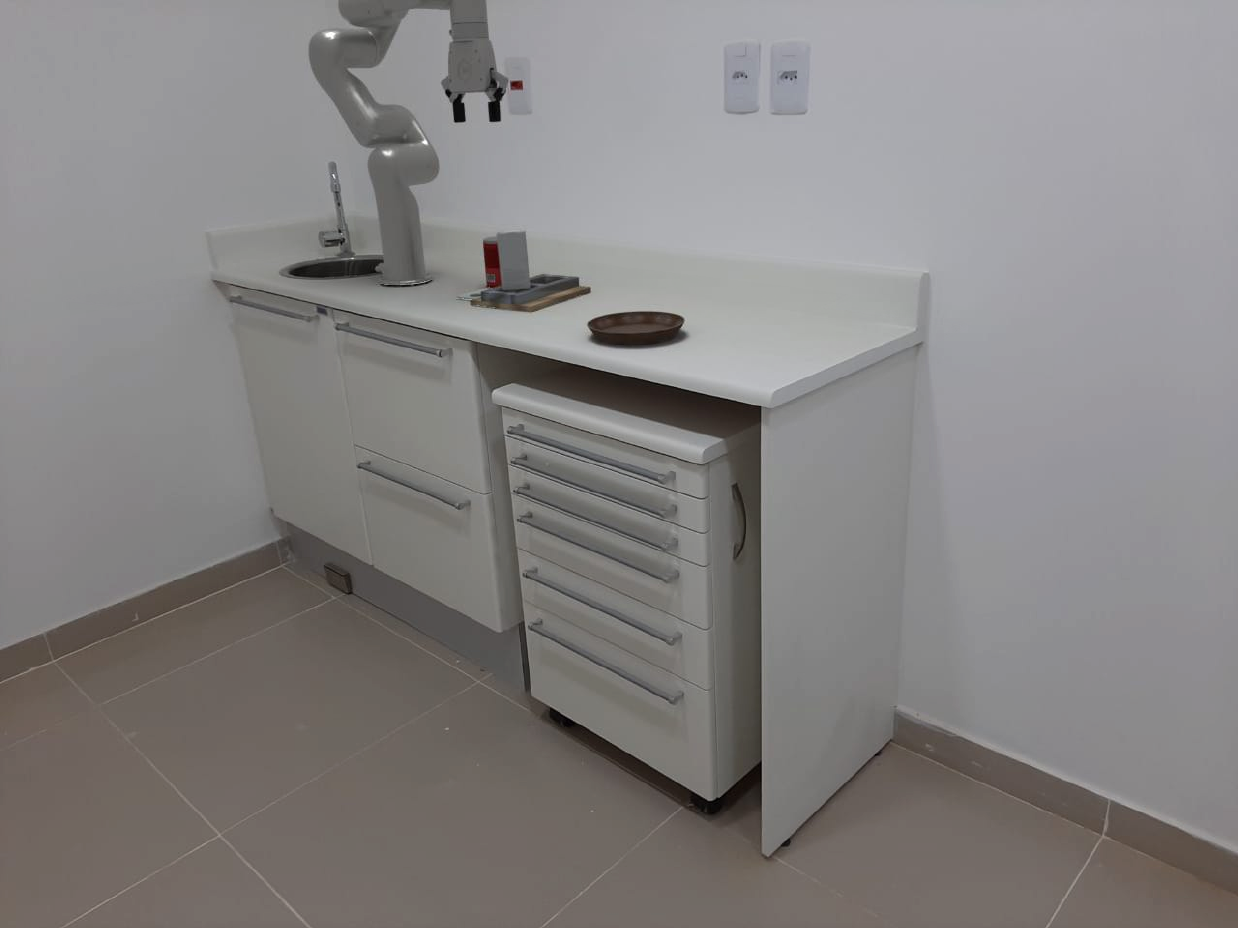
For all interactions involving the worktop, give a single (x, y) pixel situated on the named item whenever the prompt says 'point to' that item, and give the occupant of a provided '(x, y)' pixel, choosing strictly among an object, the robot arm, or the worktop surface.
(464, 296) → the card
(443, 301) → the worktop surface
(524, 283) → the skincare box
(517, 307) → the holder
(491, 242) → the canned food
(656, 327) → the plant saucer
